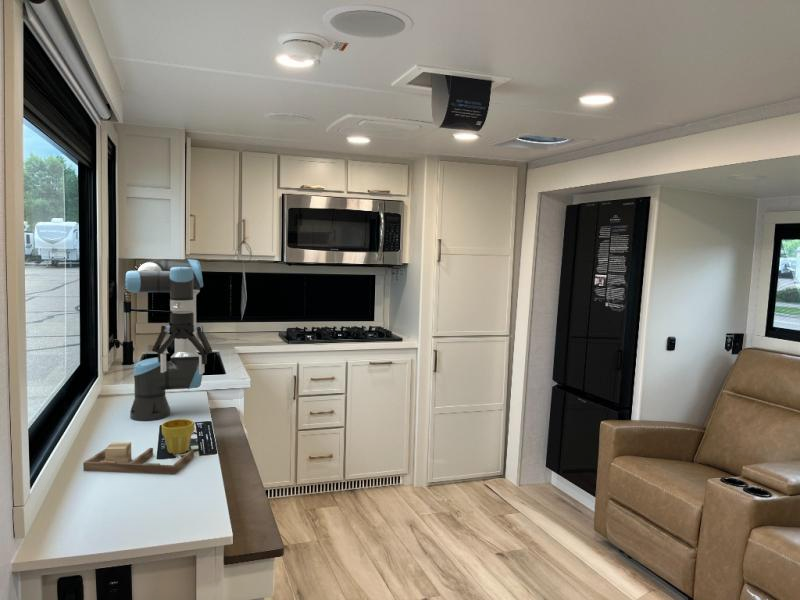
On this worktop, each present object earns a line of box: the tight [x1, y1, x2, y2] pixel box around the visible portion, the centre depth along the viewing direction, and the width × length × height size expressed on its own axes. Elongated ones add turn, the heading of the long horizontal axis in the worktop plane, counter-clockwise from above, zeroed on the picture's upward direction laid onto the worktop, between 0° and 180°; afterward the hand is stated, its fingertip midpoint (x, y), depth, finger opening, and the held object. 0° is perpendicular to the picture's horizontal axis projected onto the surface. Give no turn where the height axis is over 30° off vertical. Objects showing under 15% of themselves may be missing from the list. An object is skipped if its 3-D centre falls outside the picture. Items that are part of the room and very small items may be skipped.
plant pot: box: [161, 418, 195, 455], centre depth 201 cm, size 10×10×10 cm
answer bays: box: [82, 447, 195, 475], centre depth 189 cm, size 15×29×3 cm, turn 87°
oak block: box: [104, 441, 133, 463], centre depth 189 cm, size 6×6×6 cm
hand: (182, 372), depth 203 cm, fingers open, 13 cm apart
